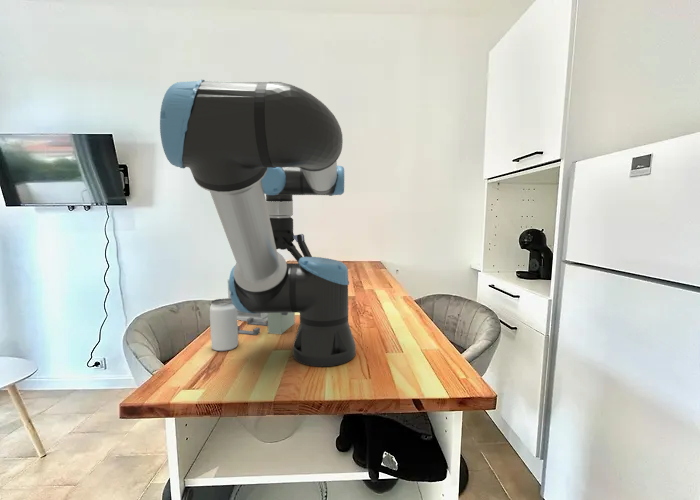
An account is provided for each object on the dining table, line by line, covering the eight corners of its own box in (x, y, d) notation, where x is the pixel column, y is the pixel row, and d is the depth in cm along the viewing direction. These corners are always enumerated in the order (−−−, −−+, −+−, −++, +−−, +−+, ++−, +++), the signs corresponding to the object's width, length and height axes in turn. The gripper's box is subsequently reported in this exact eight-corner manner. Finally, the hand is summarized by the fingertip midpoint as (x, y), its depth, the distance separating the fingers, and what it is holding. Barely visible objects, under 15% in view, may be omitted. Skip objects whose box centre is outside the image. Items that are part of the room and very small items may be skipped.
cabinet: (256, 335, 98) (255, 289, 97) (208, 330, 102) (206, 286, 100) (284, 315, 116) (283, 277, 115) (242, 312, 120) (241, 275, 118)
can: (229, 352, 86) (227, 305, 85) (206, 350, 87) (203, 303, 86) (242, 343, 92) (241, 298, 91) (220, 341, 94) (218, 297, 92)
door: (285, 334, 99) (284, 299, 98) (268, 333, 100) (267, 298, 99) (298, 323, 109) (298, 291, 107) (282, 322, 110) (282, 290, 109)
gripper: (325, 217, 102) (325, 288, 104) (247, 216, 107) (249, 284, 110) (316, 217, 94) (317, 295, 97) (233, 216, 100) (236, 289, 103)
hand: (281, 289), depth 104 cm, fingers open, 13 cm apart
